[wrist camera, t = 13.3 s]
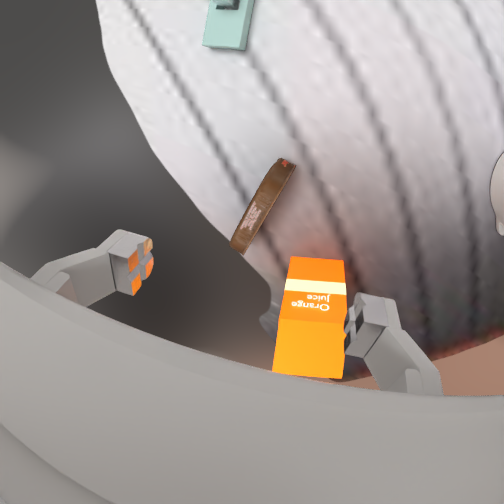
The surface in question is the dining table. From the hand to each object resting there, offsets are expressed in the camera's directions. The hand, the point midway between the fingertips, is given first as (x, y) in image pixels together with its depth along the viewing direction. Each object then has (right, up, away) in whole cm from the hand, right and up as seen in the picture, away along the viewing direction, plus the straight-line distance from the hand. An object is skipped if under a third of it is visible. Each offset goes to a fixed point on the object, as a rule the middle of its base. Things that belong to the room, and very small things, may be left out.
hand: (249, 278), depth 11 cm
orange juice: (+11, -3, +37) cm, 39 cm away
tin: (+2, +9, +32) cm, 33 cm away
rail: (-2, +37, +15) cm, 39 cm away
